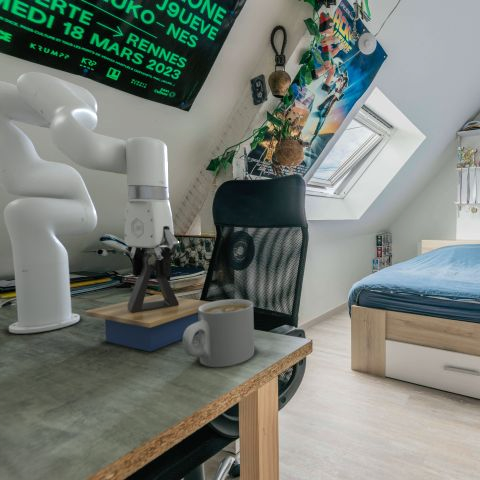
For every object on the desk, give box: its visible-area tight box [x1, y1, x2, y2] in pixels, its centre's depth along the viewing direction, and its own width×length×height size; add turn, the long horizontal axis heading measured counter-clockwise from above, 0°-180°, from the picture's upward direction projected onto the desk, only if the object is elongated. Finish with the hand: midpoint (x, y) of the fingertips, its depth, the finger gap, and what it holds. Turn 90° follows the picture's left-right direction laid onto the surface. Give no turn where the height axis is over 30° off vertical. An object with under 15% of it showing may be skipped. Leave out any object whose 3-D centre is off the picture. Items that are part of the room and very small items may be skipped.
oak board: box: [85, 294, 211, 328], centre depth 72 cm, size 20×16×1 cm
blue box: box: [104, 312, 199, 353], centre depth 73 cm, size 14×12×6 cm
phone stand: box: [127, 251, 179, 313], centre depth 72 cm, size 9×6×12 cm, turn 132°
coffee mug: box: [182, 298, 255, 368], centre depth 62 cm, size 13×10×10 cm
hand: (152, 275), depth 72 cm, fingers closed on phone stand, 6 cm apart
